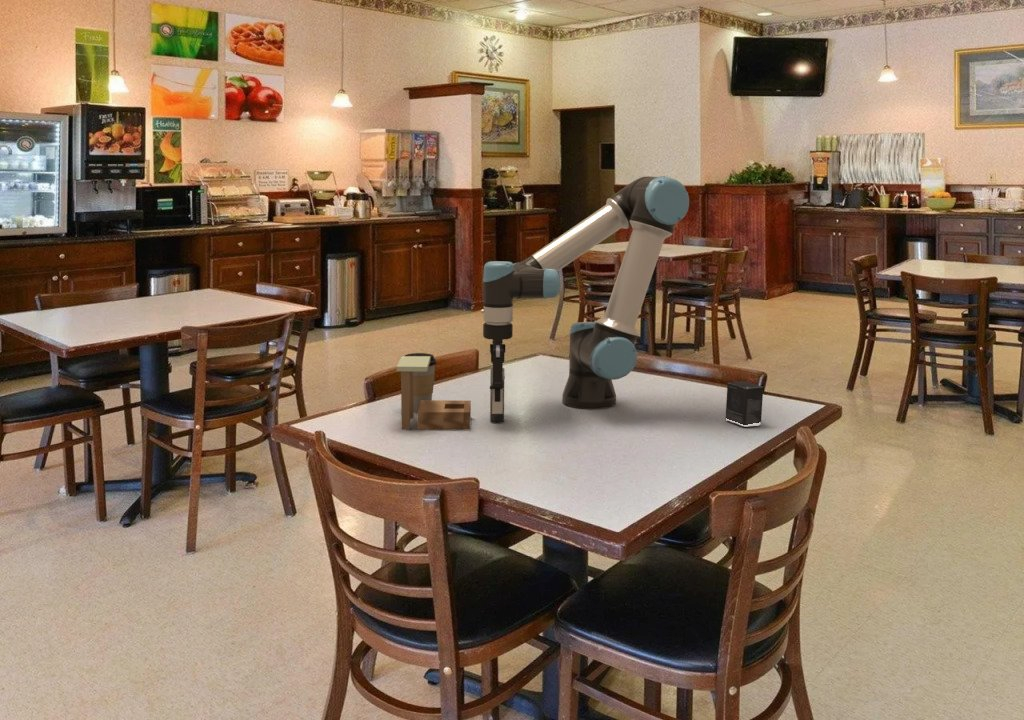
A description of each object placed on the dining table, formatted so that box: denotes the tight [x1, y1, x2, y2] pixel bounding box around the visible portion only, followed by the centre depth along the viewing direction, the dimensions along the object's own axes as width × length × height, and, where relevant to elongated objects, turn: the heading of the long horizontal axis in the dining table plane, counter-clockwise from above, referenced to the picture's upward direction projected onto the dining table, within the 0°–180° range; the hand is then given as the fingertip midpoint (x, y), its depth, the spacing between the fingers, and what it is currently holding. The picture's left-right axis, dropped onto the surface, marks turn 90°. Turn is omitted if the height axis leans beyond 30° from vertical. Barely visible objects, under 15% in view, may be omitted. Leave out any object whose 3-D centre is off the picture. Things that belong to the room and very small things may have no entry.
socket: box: [416, 399, 472, 431], centre depth 241 cm, size 13×12×4 cm
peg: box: [489, 367, 506, 424], centre depth 242 cm, size 4×4×14 cm
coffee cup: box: [404, 352, 437, 414], centre depth 252 cm, size 9×9×15 cm
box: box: [725, 380, 764, 425], centre depth 243 cm, size 8×6×11 cm
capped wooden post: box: [396, 355, 430, 430], centre depth 239 cm, size 8×13×16 cm, turn 1°
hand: (497, 408), depth 243 cm, fingers open, 9 cm apart
